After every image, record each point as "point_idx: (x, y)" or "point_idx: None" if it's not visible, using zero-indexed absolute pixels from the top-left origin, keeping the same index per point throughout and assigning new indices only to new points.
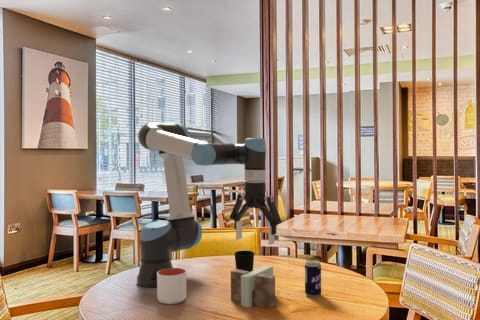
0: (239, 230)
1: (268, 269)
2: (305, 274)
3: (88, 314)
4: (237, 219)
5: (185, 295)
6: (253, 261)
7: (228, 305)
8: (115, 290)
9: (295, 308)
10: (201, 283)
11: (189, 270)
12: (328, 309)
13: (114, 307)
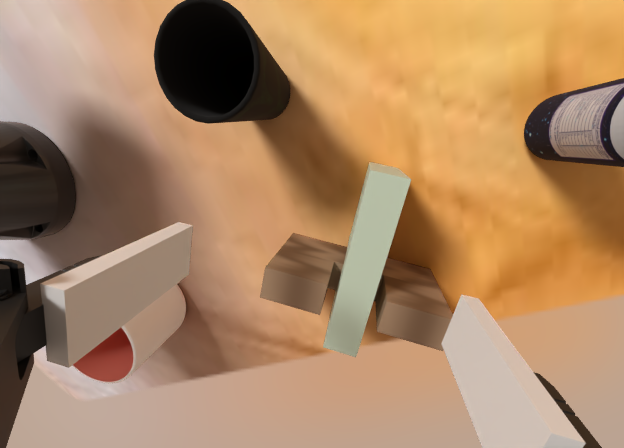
0: (147, 285)
1: (398, 219)
2: (576, 148)
3: (78, 397)
4: (28, 366)
5: (180, 304)
6: (269, 59)
7: None
8: None
9: (496, 270)
10: (140, 148)
11: (17, 19)
12: (614, 251)
13: None
